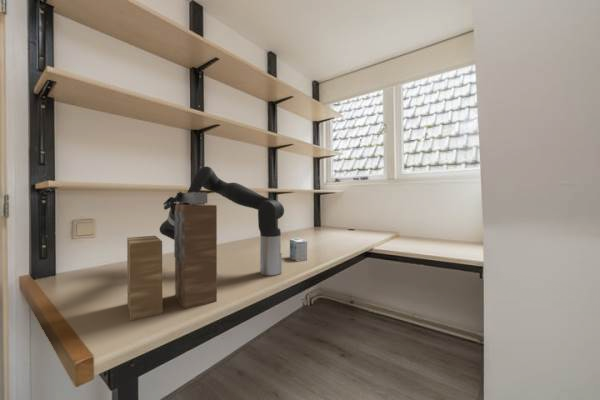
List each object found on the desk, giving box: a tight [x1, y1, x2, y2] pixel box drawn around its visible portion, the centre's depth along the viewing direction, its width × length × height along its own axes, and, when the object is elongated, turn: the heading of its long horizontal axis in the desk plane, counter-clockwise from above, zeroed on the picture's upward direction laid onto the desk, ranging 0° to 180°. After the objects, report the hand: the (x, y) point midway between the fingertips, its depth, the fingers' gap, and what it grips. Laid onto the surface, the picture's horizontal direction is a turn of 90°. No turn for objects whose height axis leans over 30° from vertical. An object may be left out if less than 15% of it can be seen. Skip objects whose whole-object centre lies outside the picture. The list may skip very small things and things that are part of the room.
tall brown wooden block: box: [173, 203, 218, 310], centre depth 88 cm, size 14×11×32 cm
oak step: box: [126, 235, 163, 321], centre depth 80 cm, size 14×8×22 cm, turn 37°
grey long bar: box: [179, 191, 208, 204], centre depth 91 cm, size 22×4×4 cm, turn 37°
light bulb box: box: [289, 237, 308, 261], centre depth 146 cm, size 11×7×11 cm, turn 24°
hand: (187, 193), depth 97 cm, fingers closed on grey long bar, 4 cm apart
